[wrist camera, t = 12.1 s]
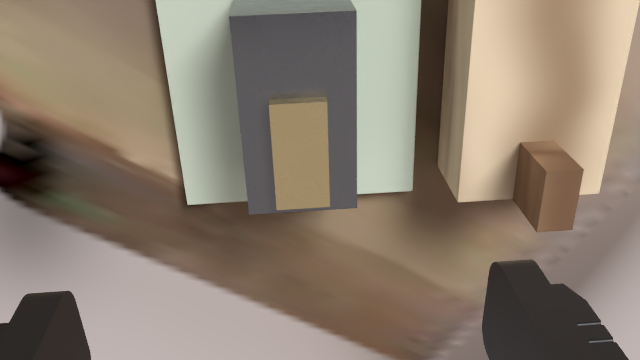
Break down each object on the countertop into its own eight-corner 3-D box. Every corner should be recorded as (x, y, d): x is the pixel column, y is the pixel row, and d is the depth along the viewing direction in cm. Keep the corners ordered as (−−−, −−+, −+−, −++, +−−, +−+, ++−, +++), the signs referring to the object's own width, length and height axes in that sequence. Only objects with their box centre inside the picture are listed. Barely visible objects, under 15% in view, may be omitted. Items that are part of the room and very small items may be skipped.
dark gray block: (251, 174, 31) (248, 221, 27) (234, -4, 27) (228, 20, 23) (347, 169, 31) (358, 214, 27) (345, -9, 27) (358, 13, 23)
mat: (189, 197, 32) (187, 204, 32) (153, -37, 27) (150, -35, 26) (409, 183, 33) (412, 190, 32) (419, -49, 27) (423, -47, 26)
